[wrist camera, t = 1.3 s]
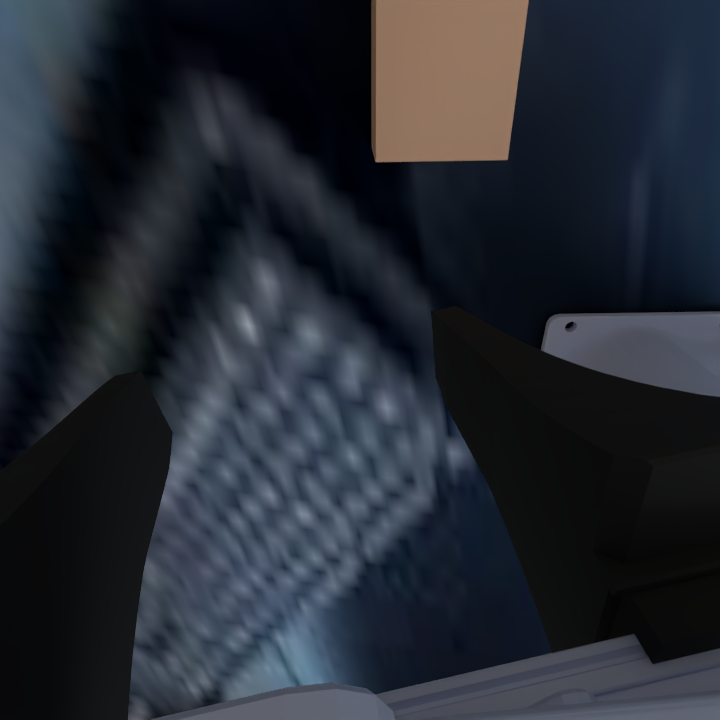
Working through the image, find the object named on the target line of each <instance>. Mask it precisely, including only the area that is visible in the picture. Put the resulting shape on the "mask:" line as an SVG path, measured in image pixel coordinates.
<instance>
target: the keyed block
mask: <svg viewBox="0 0 720 720" xmlns="http://www.w3.org/2000/svg"><path fill="white" fill-rule="evenodd" d="M528 2H529V0H371V112H372V151H373V154H374V158H375V161H376V162H418V161H481V160H508V153H509V146H510V138H511V130H512V123H513V115H514V108H515V100H516V93H517V85H518V78H519V70H520V62H521V55H522V47H523V40H524V32H525V25H526V17H527V9H528Z"/></svg>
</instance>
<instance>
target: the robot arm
mask: <svg viewBox="0 0 720 720" xmlns="http://www.w3.org/2000/svg"><path fill="white" fill-rule="evenodd" d="M431 315H432V329H433V344H434V358H435V372H436V379H437V382H438V384H439V387H440V390H441V393H442V395H443V398H444V401H445V403H446V406H447V408H448V410H449V412H450V414H451V416H452V418H453V420H454V422H455V424H456V425H457V427H458V429H459V431H460V433H461V435H462V437H463V438H464V440H465V442H466V444H467V446H468V448H469V450H470V451H471V453H472V455H473V457H474V459H475V461H476V462H477V464H478V466H479V468H480V470H481V472H482V473H483V475H484V477H485V479H486V481H487V483H488V485H489V488H490V490H491V492H492V494H493V496H494V499H495V501H496V504H497V506H498V509H499V511H500V513H501V516H502V518H503V521H504V523H505V526H506V528H507V531H508V533H509V536H510V538H511V541H512V543H513V546H514V549H515V551H516V554H517V556H518V559H519V561H520V564H521V567H522V569H523V572H524V575H525V577H526V580H527V583H528V586H529V588H530V591H531V594H532V596H533V599H534V602H535V604H536V607H537V610H538V613H539V615H540V618H541V621H542V624H543V627H544V630H545V633H546V636H547V638H548V641H549V644H550V647H551V650H552V653H550V654H546V655H542V656H537V657H533V658H529V659H525V660H520V661H516V662H512V663H508V664H503V665H499V666H495V667H491V668H486V669H482V670H478V671H474V672H469V673H465V674H461V675H457V676H452V677H448V678H444V679H440V680H436V681H431V682H427V683H423V684H419V685H414V686H410V687H406V688H402V689H397V690H393V691H389V692H385V693H380V694H376V695H374V694H373V693H372V692H371V691H369V690H368V689H367V688H361V687H355V686H349V685H343V684H337V683H323V684H314V685H305V686H297V687H288V688H283V689H278V690H274V691H270V692H266V693H261V694H257V695H253V696H248V697H244V698H240V699H236V700H231V701H227V702H223V703H218V704H214V705H210V706H206V707H201V708H197V709H193V710H189V711H184V712H180V713H176V714H171V715H167V716H163V717H159V718H154V719H150V720H720V311H716V312H651V313H585V314H556V315H553V316H552V317H550V318H549V319H548V321H547V323H546V327H545V332H544V337H543V342H542V347H541V350H540V349H537V348H535V347H533V346H531V345H528V344H526V343H524V342H522V341H520V340H518V339H516V338H514V337H512V336H510V335H508V334H506V333H504V332H502V331H500V330H498V329H497V328H495V327H493V326H491V325H489V324H488V323H486V322H484V321H482V320H480V319H479V318H477V317H475V316H473V315H471V314H470V313H468V312H466V311H464V310H462V309H460V308H458V307H456V306H453V307H448V308H443V309H438V310H434V311H431ZM569 322H573V325H572V326H571V327H570V328H565V326H566V324H568V323H569ZM171 444H172V431H171V429H170V427H169V425H168V423H167V421H166V419H165V417H164V415H163V413H162V411H161V409H160V407H159V406H158V404H157V402H156V400H155V398H154V396H153V394H152V392H151V390H150V388H149V386H148V384H147V382H146V380H145V378H144V376H143V374H142V373H141V371H136V372H132V373H127V374H122V375H117V376H114V377H113V378H112V379H110V380H109V381H107V382H106V383H105V384H104V385H102V386H101V387H100V388H99V389H97V390H96V391H95V392H94V393H93V394H92V395H90V396H89V397H88V398H87V399H86V400H85V401H84V402H82V403H81V404H80V405H79V406H78V407H77V408H76V409H74V410H73V411H72V412H71V413H70V414H69V415H68V416H67V417H65V418H64V419H63V420H62V421H61V422H60V423H59V424H57V425H56V426H55V427H54V428H53V429H52V430H51V431H49V432H48V433H47V434H46V435H45V436H43V437H42V438H41V439H40V440H38V441H37V442H36V443H35V444H34V445H32V446H31V447H30V448H29V449H28V450H26V451H25V452H24V453H23V454H21V455H20V456H19V457H18V458H17V459H15V460H14V461H13V462H12V463H10V464H9V465H8V466H7V467H5V468H4V469H3V470H1V471H0V720H128V704H129V692H130V680H131V668H132V655H133V647H134V638H135V629H136V620H137V612H138V605H139V598H140V591H141V584H142V577H143V570H144V566H145V561H146V556H147V552H148V548H149V544H150V540H151V536H152V532H153V529H154V525H155V521H156V517H157V514H158V510H159V506H160V502H161V498H162V495H163V491H164V487H165V483H166V479H167V475H168V470H169V464H170V455H171Z"/></svg>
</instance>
